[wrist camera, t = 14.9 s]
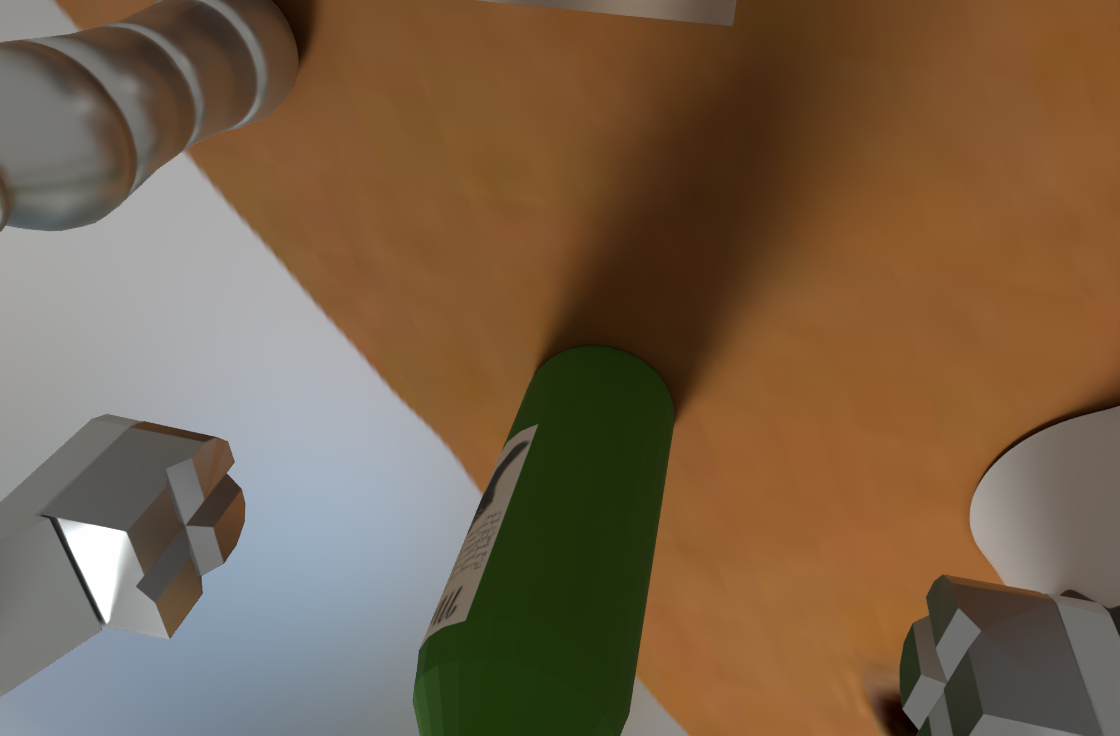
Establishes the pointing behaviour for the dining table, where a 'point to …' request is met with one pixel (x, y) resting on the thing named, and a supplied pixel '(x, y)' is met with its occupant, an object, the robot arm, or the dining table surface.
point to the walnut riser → (648, 8)
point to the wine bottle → (555, 560)
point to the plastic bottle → (130, 102)
